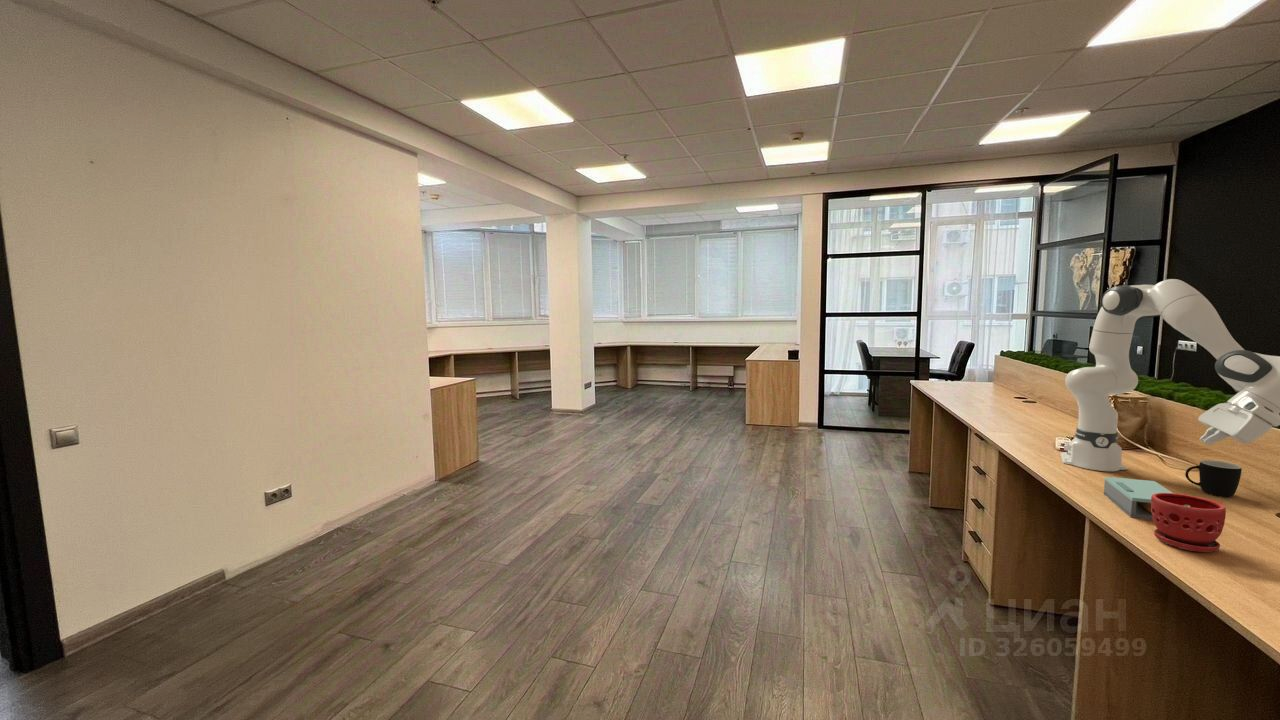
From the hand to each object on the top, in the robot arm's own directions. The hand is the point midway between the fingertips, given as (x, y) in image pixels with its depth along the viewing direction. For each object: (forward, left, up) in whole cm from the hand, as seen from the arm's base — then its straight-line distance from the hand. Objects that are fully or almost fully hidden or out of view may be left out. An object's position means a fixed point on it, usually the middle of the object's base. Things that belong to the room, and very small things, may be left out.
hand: (1204, 442), depth 144 cm
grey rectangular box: (-2, -11, -22) cm, 25 cm away
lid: (-2, -11, -17) cm, 21 cm away
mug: (-28, +15, -23) cm, 39 cm away
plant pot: (+24, -12, -23) cm, 36 cm away
